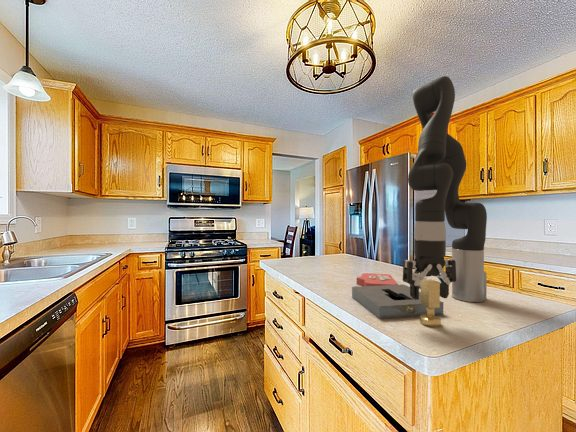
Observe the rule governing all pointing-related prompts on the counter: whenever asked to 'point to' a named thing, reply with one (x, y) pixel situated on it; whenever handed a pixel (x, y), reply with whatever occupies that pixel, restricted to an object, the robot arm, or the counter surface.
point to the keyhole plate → (391, 301)
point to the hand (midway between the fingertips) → (429, 298)
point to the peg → (430, 302)
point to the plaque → (375, 280)
